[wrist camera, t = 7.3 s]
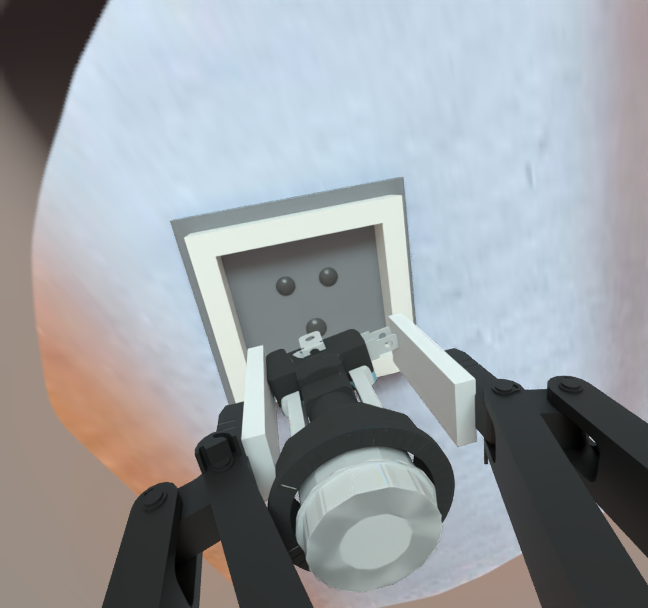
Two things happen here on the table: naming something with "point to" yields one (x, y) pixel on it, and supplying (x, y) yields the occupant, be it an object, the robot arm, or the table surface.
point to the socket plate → (298, 272)
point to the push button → (352, 467)
